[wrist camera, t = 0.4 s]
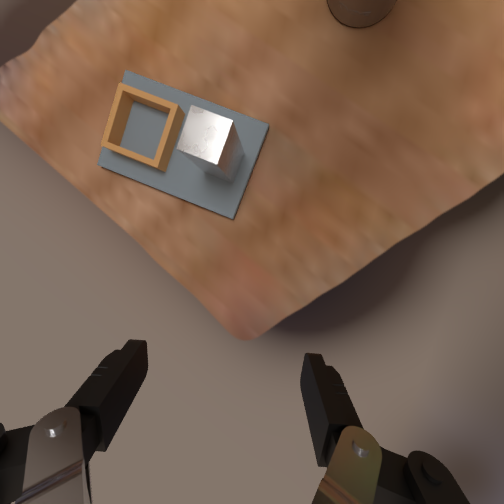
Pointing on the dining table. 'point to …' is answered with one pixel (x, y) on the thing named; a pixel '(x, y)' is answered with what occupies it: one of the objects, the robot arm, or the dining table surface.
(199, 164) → the brushed metal pillar
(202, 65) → the dining table surface
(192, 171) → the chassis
